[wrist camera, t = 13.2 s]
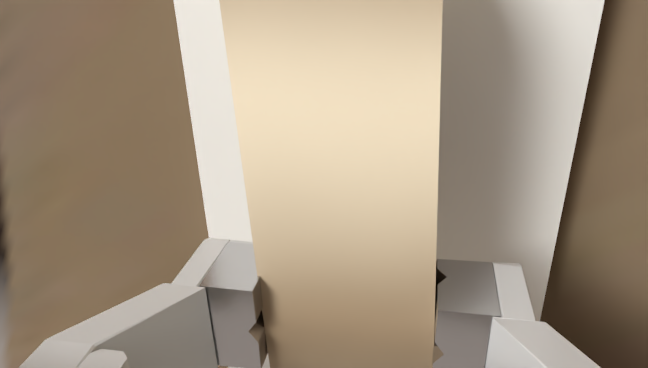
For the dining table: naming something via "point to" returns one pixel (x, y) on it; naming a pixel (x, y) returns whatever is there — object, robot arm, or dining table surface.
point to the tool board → (444, 126)
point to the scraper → (340, 174)
